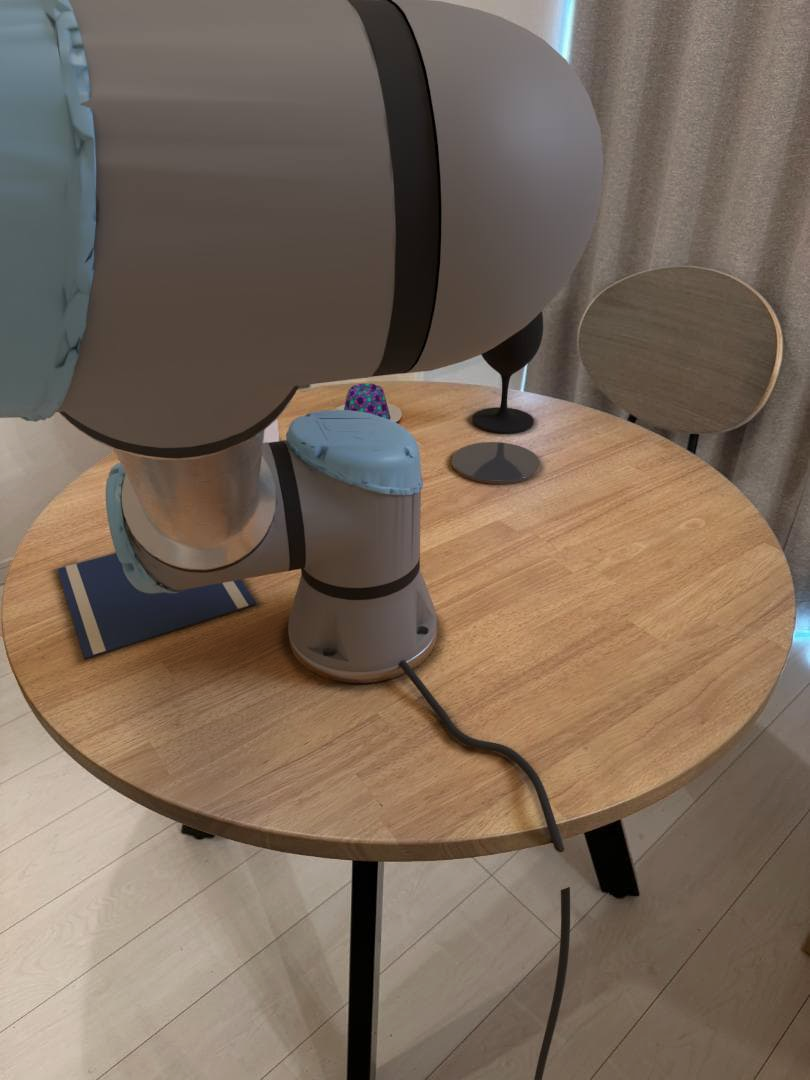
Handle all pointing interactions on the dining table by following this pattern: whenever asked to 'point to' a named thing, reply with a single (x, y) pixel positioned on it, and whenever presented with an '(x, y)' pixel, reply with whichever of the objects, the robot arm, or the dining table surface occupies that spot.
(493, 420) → the wine glass
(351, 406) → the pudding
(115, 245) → the robot arm
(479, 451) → the coaster
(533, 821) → the dining table surface
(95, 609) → the placemat
